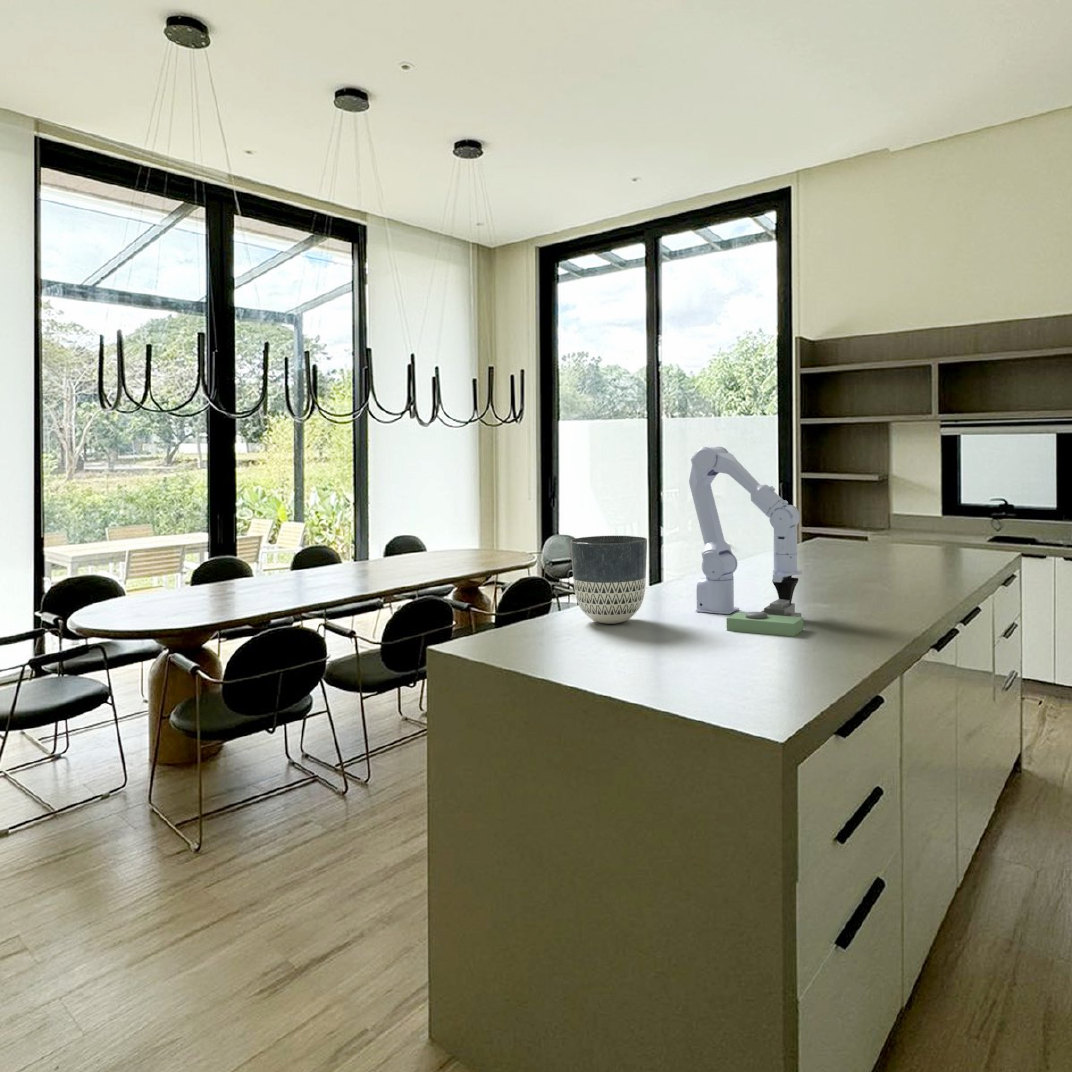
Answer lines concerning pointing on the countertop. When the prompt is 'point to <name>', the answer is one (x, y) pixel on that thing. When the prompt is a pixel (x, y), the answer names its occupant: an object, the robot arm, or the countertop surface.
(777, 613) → the stepped grey block
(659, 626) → the countertop surface
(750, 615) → the deck
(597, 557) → the planter
